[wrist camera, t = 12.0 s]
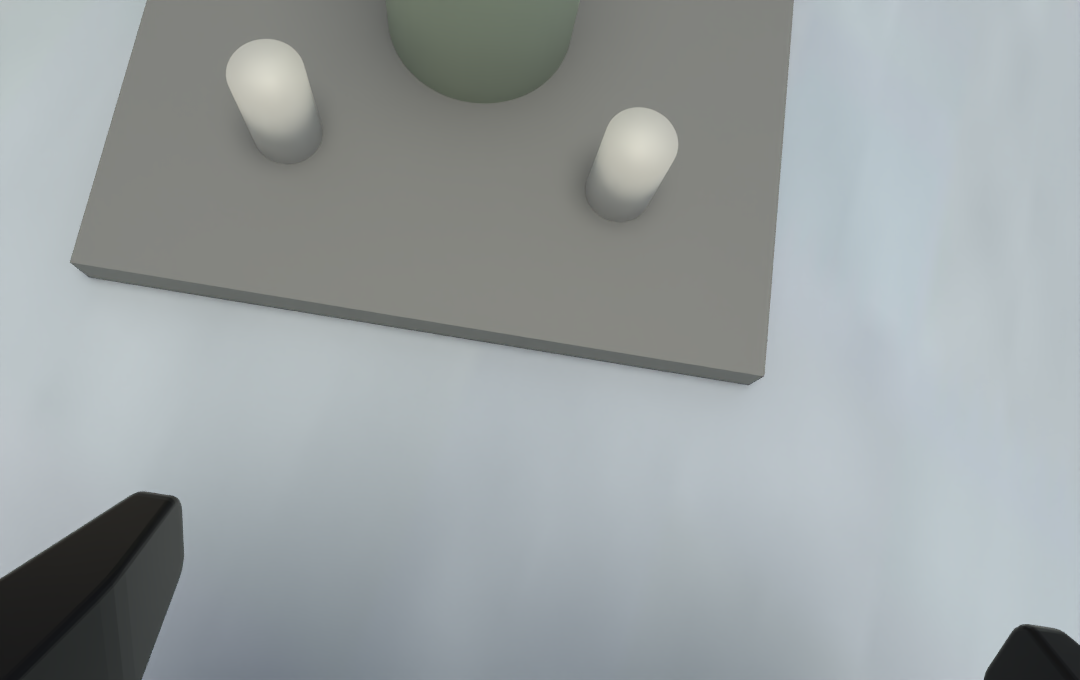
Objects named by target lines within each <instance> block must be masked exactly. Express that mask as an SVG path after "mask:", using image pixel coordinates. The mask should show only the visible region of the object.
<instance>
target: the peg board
mask: <svg viewBox="0 0 1080 680" xmlns="http://www.w3.org/2000/svg"><path fill="white" fill-rule="evenodd" d="M793 3H794V0H580V3H579V7H578V11H577V15H576V19H575V23H574V27H573V31H572V36H571V40H570V44H569V47H568V51H567V53H566V55H565V58H564V60H563V61H562V63H561V65H560V66H559V68H558V69H557V70H556V72H555V73H554V74H553V75H552V76H551V77H550V78H549V79H548V80H547V81H546V82H545V83H544V84H543V85H541V86H540V87H538V88H537V89H535V90H534V91H532V92H530V93H528V94H526V95H524V96H521V97H519V98H516V99H513V100H509V101H504V102H499V103H471V102H464V101H460V100H457V99H453V98H450V97H447V96H445V95H442V94H440V93H438V92H436V91H434V90H433V89H431V88H429V87H428V86H426V85H425V84H424V83H422V82H421V81H419V80H418V79H417V78H416V77H415V76H414V75H413V74H412V73H411V72H410V71H409V70H408V69H407V67H406V66H405V65H404V64H403V62H402V61H401V59H400V58H399V56H398V54H397V52H396V50H395V48H394V46H393V43H392V40H391V36H390V33H389V26H388V17H387V8H386V0H147V2H146V6H145V9H144V12H143V16H142V19H141V23H140V26H139V29H138V33H137V36H136V40H135V43H134V46H133V50H132V53H131V56H130V60H129V63H128V67H127V70H126V73H125V77H124V80H123V84H122V87H121V90H120V94H119V97H118V101H117V104H116V107H115V111H114V114H113V118H112V121H111V124H110V128H109V131H108V135H107V138H106V141H105V145H104V148H103V152H102V155H101V158H100V162H99V165H98V169H97V172H96V175H95V179H94V182H93V186H92V189H91V192H90V196H89V199H88V203H87V206H86V209H85V213H84V216H83V220H82V223H81V226H80V230H79V233H78V237H77V240H76V243H75V247H74V250H73V253H72V257H71V260H70V263H71V264H73V265H74V266H75V267H77V268H78V269H79V270H80V271H82V272H83V273H84V274H86V275H87V276H88V277H92V278H98V279H104V280H110V281H116V282H123V283H129V284H135V285H141V286H147V287H153V288H159V289H165V290H172V291H178V292H184V293H190V294H196V295H202V296H208V297H214V298H221V299H227V300H233V301H239V302H245V303H251V304H257V305H263V306H269V307H276V308H282V309H288V310H294V311H300V312H306V313H312V314H318V315H325V316H331V317H337V318H343V319H349V320H355V321H361V322H367V323H374V324H380V325H386V326H392V327H398V328H404V329H410V330H416V331H422V332H429V333H435V334H441V335H447V336H453V337H459V338H465V339H471V340H478V341H484V342H490V343H496V344H502V345H508V346H514V347H520V348H527V349H533V350H539V351H545V352H551V353H557V354H563V355H569V356H575V357H582V358H588V359H594V360H600V361H606V362H612V363H618V364H624V365H631V366H637V367H643V368H649V369H655V370H661V371H667V372H673V373H680V374H686V375H692V376H698V377H704V378H710V379H716V380H722V381H728V382H735V383H741V384H747V385H750V384H751V383H753V382H755V381H757V380H759V379H760V378H762V377H764V373H765V360H766V348H767V335H768V322H769V309H770V297H771V284H772V271H773V258H774V246H775V233H776V220H777V207H778V195H779V182H780V169H781V156H782V144H783V131H784V118H785V105H786V93H787V80H788V67H789V54H790V42H791V29H792V16H793Z"/></svg>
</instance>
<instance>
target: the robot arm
mask: <svg viewBox="0 0 1080 680" xmlns="http://www.w3.org/2000/svg"><path fill="white" fill-rule="evenodd" d="M183 560H184V542H183V521H182V506H181V503H180V501H179V499H178V498H176V497H174V496H171V495H164V494H157V493H151V492H137V493H135V494H132V495H131V496H129V497H127V498H126V499H124V500H123V501H121V502H120V503H118V504H116V505H115V506H113V507H112V508H110V509H109V510H107V511H105V512H104V513H102V514H101V515H99V516H98V517H96V518H94V519H93V520H91V521H90V522H88V523H87V524H85V525H84V526H82V527H80V528H79V529H77V530H76V531H74V532H73V533H71V534H69V535H68V536H66V537H65V538H63V539H62V540H60V541H59V542H57V543H55V544H54V545H52V546H51V547H49V548H48V549H46V550H44V551H43V552H41V553H40V554H38V555H37V556H35V557H34V558H32V559H30V560H29V561H27V562H26V563H24V564H23V565H21V566H19V567H18V568H16V569H15V570H13V571H12V572H10V573H9V574H7V575H5V576H4V577H2V578H1V579H0V680H142V677H143V674H144V672H145V669H146V666H147V663H148V661H149V658H150V655H151V653H152V650H153V647H154V645H155V642H156V639H157V637H158V634H159V631H160V629H161V626H162V623H163V621H164V618H165V615H166V613H167V610H168V607H169V605H170V602H171V599H172V597H173V594H174V591H175V589H176V586H177V583H178V581H179V578H180V575H181V571H182V566H183ZM984 680H1080V645H1079V644H1078V643H1077V642H1075V641H1074V640H1073V639H1072V638H1071V637H1069V636H1068V635H1067V634H1065V633H1064V632H1062V631H1060V630H1058V629H1055V628H1050V627H1043V626H1036V625H1030V624H1023V625H1020V626H1018V627H1017V628H1015V629H1014V630H1013V631H1012V632H1011V634H1010V635H1009V637H1008V639H1007V640H1006V642H1005V643H1004V645H1003V646H1002V648H1001V649H1000V651H999V652H998V654H997V655H996V657H995V658H994V660H993V661H992V663H991V664H990V666H989V667H988V669H987V671H986V673H985V677H984Z"/></svg>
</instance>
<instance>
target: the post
mask: <svg viewBox="0 0 1080 680" xmlns="http://www.w3.org/2000/svg"><path fill="white" fill-rule="evenodd" d="M579 3H580V0H386V8H387V17H388V26H389V33H390V36H391V40H392V43H393V46H394V48H395V50H396V52H397V54H398V56H399V58H400V59H401V61H402V62H403V64H404V65H405V66H406V67H407V69H408V70H409V71H410V72H411V73H412V74H413V75H414V76H415V77H416V78H417V79H418V80H419V81H421V82H422V83H424V84H425V85H426V86H428V87H429V88H431V89H433V90H434V91H436V92H438V93H440V94H442V95H445V96H447V97H450V98H453V99H457V100H460V101H464V102H471V103H499V102H504V101H509V100H513V99H516V98H519V97H521V96H524V95H526V94H528V93H530V92H532V91H534V90H535V89H537V88H538V87H540V86H541V85H543V84H544V83H545V82H546V81H547V80H548V79H549V78H550V77H551V76H552V75H553V74H554V73H555V72H556V70H557V69H558V68H559V66H560V65H561V63H562V61H563V60H564V58H565V55H566V53H567V51H568V47H569V44H570V40H571V36H572V31H573V27H574V23H575V19H576V15H577V11H578V7H579Z"/></svg>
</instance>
